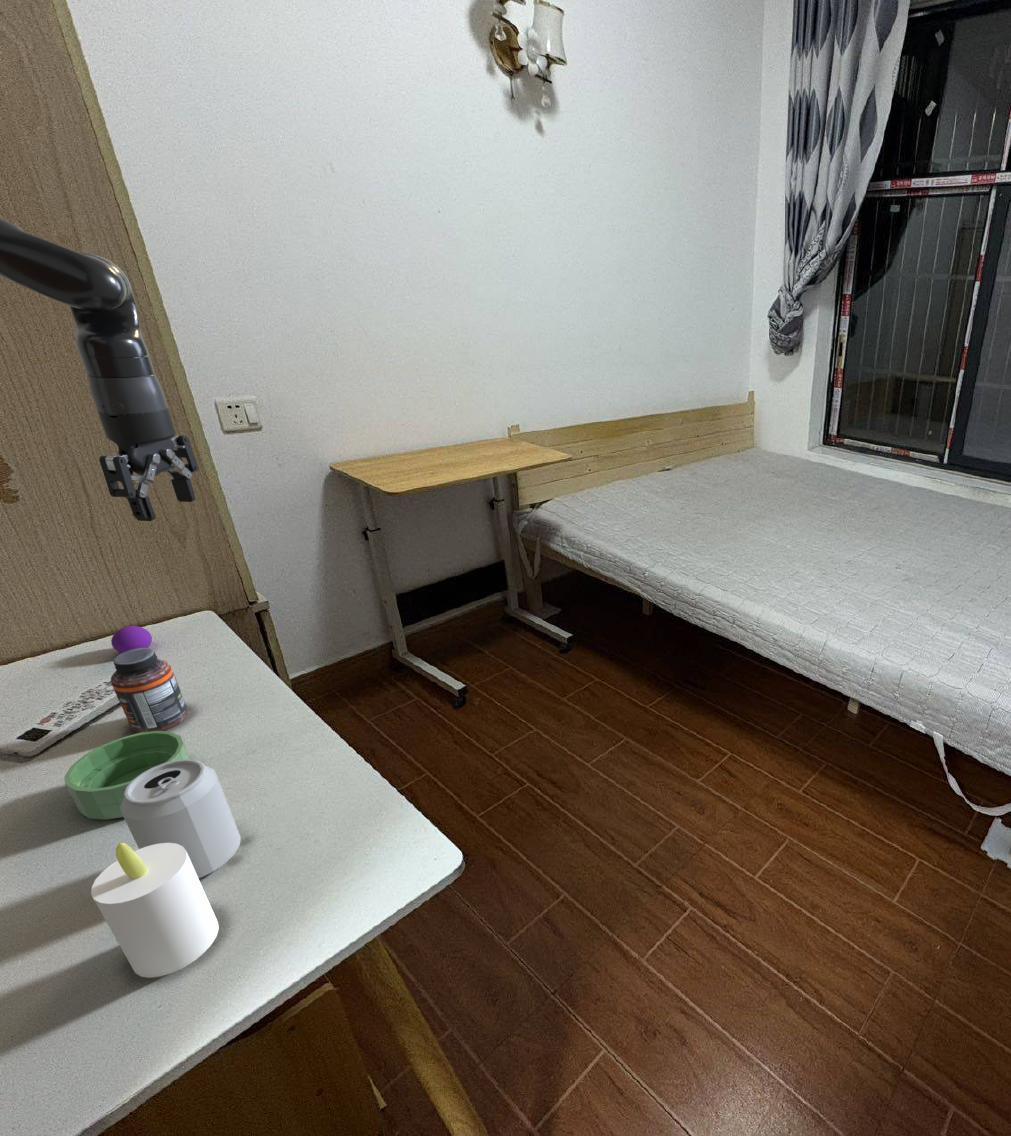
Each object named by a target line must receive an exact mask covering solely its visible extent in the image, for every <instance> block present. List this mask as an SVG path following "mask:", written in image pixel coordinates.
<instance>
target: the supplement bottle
mask: <svg viewBox="0 0 1011 1136" xmlns="http://www.w3.org/2000/svg"><path fill="white" fill-rule="evenodd" d="M112 660H113V661H112V662H113V665H114V668H115V670H116V671H114V672H113V673H112V674H111V677H110V684H111V686H112V688H113V691H114V693H115V696H116V698H117V700H118V701H119V704H120V706H121V709H122V710H123V714H124V715H125V717H126V719H127V722H128V724H129V726H130V727H131V729H132V731H133V732H134V733H135V734H137V733H142V732H151V731H169V730H171V729H173V728H175V727H177V726H178V725H181V724H182V723H183V722H184V721H185V720H186V718H187V717H188V715H189V710H188V706H187V703H186V701H185V698H184V696H183V692H182V691H181V687H180V685H179V684H178V680H177V678H176V676H175V673H174V671H173V668H172V666H171V664H170V663H169V662H168V661H166V660H164V659H160V658H158V655H156V651H155V650H154V649H153V648H150V647H148V648H137V649H133V650H129V651H126V652H124V653H119V654H118V655H117V656H115V657H114V658H113V659H112Z"/></svg>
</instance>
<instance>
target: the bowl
mask: <svg viewBox="0 0 1011 1136" xmlns="http://www.w3.org/2000/svg"><path fill="white" fill-rule="evenodd" d="M182 759H191V757H190V755H189V752H188V750H187V748H186V745H185V742H184V740H183V737H182V736H181V735H179V734H177V733H175V732H174V731H168V730H166V731H151V732H142V733H133V734H130V735H126V736H122V737H119V738H117V739H115V740H112V741H109V742H107V743H104V744H102V745H100V746H98V747H96V748H95V749H93V750H91V751H89V752H88V753H86V754H84V755H82V756H81V757H80V758H79V759H78V760H76V761H75V762H74V763H73V764H72V765H71V766H70V767H69V769H68V770H67V771H66V774H65V775H64V783H65V786H66V789H67V791H68V792H69V794H70V797H71V798H72V800H73V801H74V804H75V806H76V807H77V809H78V811H79V813H80V814H82V815H83V816H85V817H86V818H88V819H93V820H101V821H102V820H104V821H108V820H113V819H119V818H124V817H123V815H122V812H121V809H120V806H121V803H122V801H123V799H124V798H125V797H124V792H125V789H126V787H127V786H128V785H129V784H130V783H131V781H132V780H134V779H135V778H136V777H138V776H139V775H140V774H142V773H143V772H145V771H147V770H149V769H151V768H153V767H155V766H158V765H161V764H163V763H166V762H171V761H175V760H182Z"/></svg>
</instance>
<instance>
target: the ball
mask: <svg viewBox="0 0 1011 1136" xmlns="http://www.w3.org/2000/svg"><path fill="white" fill-rule="evenodd" d="M110 641H111V643H110V644H111V646H112V648H113V649H114V650H115V651H116V652H118V653H119V654H121V653H124V652H126V651H129V650H133V649H137V648H150V646H151V645H152V642H153V636H152V634H151V633H150V631H149V630H147V629H146V628H144V627H141V626H137V625H130V626H124V627H122V628H120V629H118V630H117V631H116V632H115V633H114V634H113V635H112V636H111V640H110Z"/></svg>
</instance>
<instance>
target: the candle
mask: <svg viewBox="0 0 1011 1136" xmlns="http://www.w3.org/2000/svg"><path fill="white" fill-rule="evenodd" d="M115 855H116V861H114V862H112V863H111V864H110V865H109V866H107V867H106V868H105V869H104V870H103V871H102V872H101V873H100V874H99V875H98V876H97V877H96V878H95V880H94V882H93V883H92V886H91V889H90V895H91V897H92V899H93V901H94V902H95V904H96V906H97V908H98V909H99V912H100V913H101V915H102V916H103V918H104V920H105V922H106V923H107V925H108V927H109V928H110V931H111V932H112V935H113V937H114V938H115V940H116V941H117V943H118V945H119V947H120V949H121V950H122V952H123V954H124V956H125V958H126V959H127V961H128V963H129V964H130V966H131V968H132V970H133V972H134V973H135V975H137V976H139V977H141V978H147V979H153V978H161V977H164V976H168V975H171V974H173V973H176V972H177V971H179V970H181V969H184V968H185V967H187V966H188V965H190V964H191V963H193V962H195V961H197V959H199V957H201V956H202V955H204V953H205V952H206V951H207V950H208V949H210V947H211V946H212V945H213V943H214V941H215V940H216V939H217V936H218V933H219V930H220V927H219V922H218V919H217V917H216V914H215V912H214V910H213V908H212V906H211V903H210V901H209V898H208V897H207V893H206V892H205V890H204V887H203V885H202V882H201V880H200V878H198V876H197V874H196V872H195V869H194V867H193V865H192V863H191V860H190V858H189V856H188V854H187V851H186V850H185V849H184V847H183V846H181V845H179V844H176V843H159V844H154V845H150V846H146V847H144V848H141V849H139V848H138V849H136V850H134V849H132V847H130V845H128V844H127V843H124V842H119V843H118V844H117V845H116V848H115Z"/></svg>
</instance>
